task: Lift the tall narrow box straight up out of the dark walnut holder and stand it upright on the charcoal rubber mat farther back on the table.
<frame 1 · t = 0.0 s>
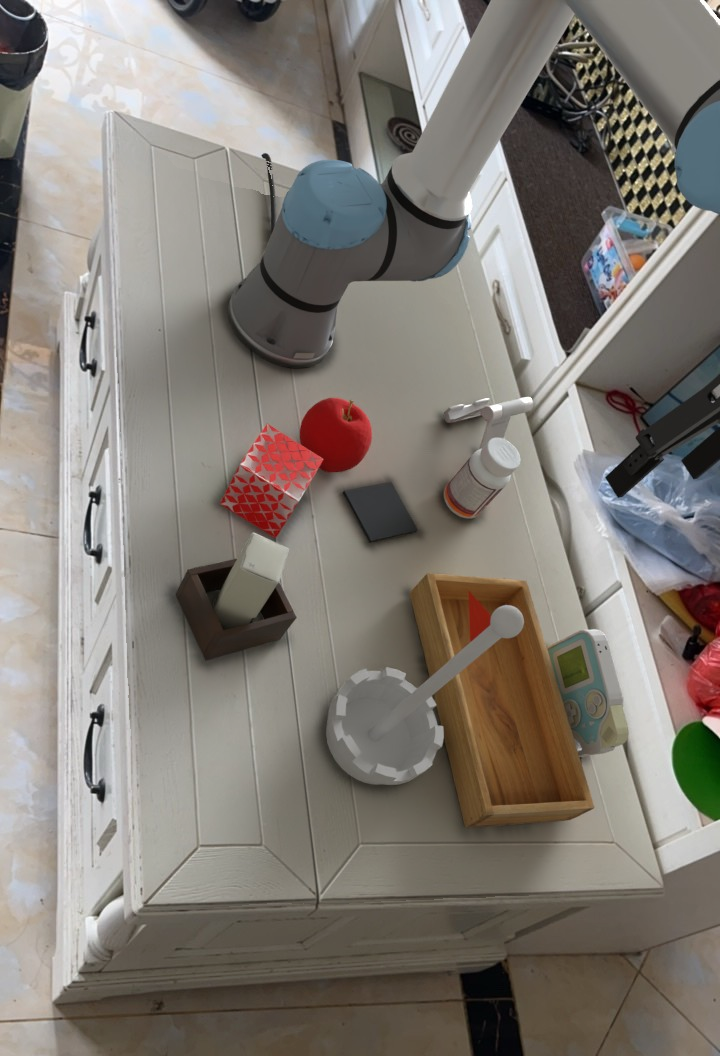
hand: (652, 478, 97), 28 cm above the table, tool pointing down, fingers open, 13 cm apart
tray: (483, 705, 109), on the table
mat: (380, 512, 117), on the table
fruit: (322, 456, 117), on the table
holder: (228, 617, 99), on the table
handheld gaming console: (558, 708, 114), on the table
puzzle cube: (260, 501, 109), on the table
box: (227, 618, 99), resting in holder
pill bottle: (460, 502, 124), on the table
tablet stand: (474, 432, 133), on the table
flag stand: (369, 738, 100), on the table
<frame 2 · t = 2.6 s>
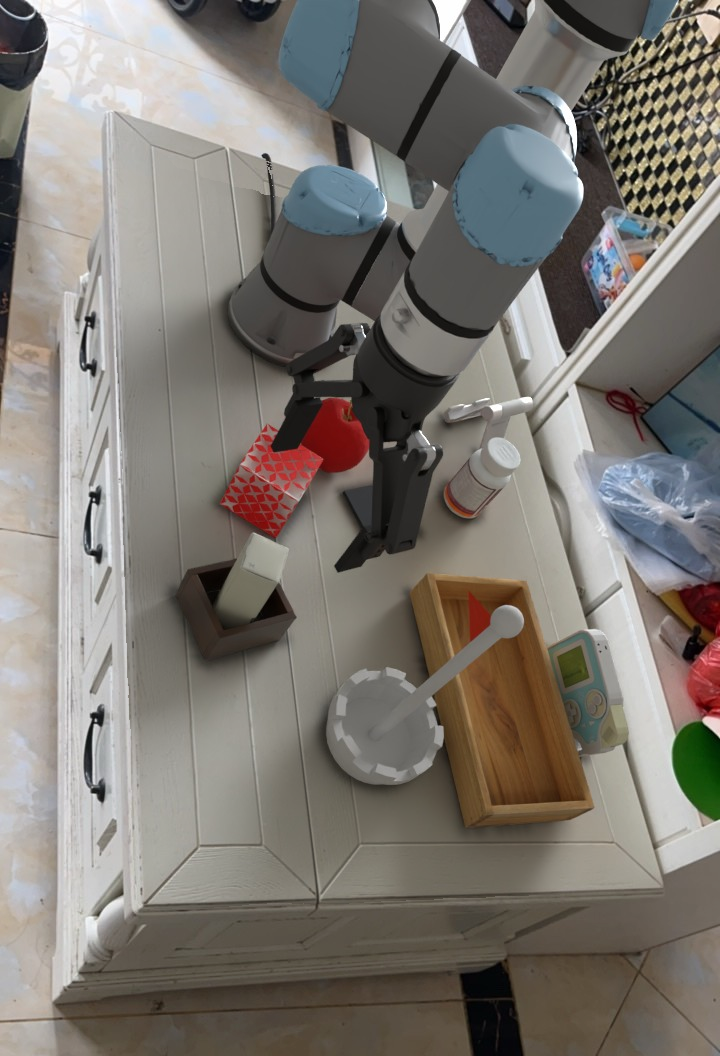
hand: (314, 506, 82), 22 cm above the table, tool pointing down, fingers open, 13 cm apart
nothing on the table moved.
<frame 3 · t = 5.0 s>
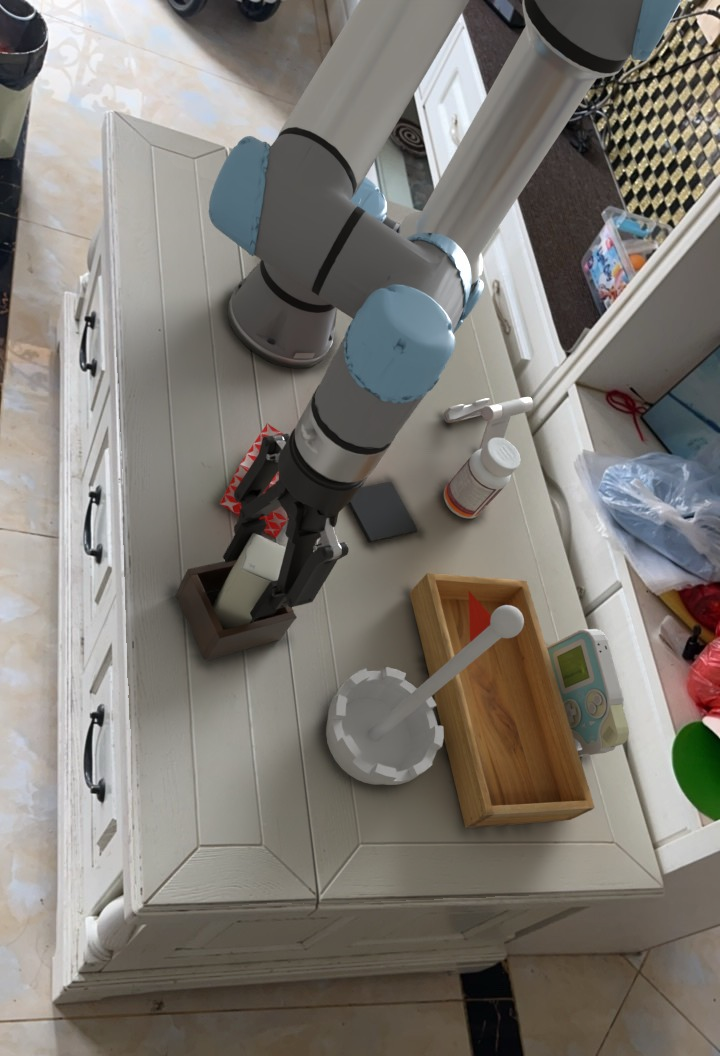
hand: (248, 584, 93), 7 cm above the table, tool pointing down, fingers closed on box, 6 cm apart
box: (227, 618, 99), resting in holder, touching gripper
everything else where it was.
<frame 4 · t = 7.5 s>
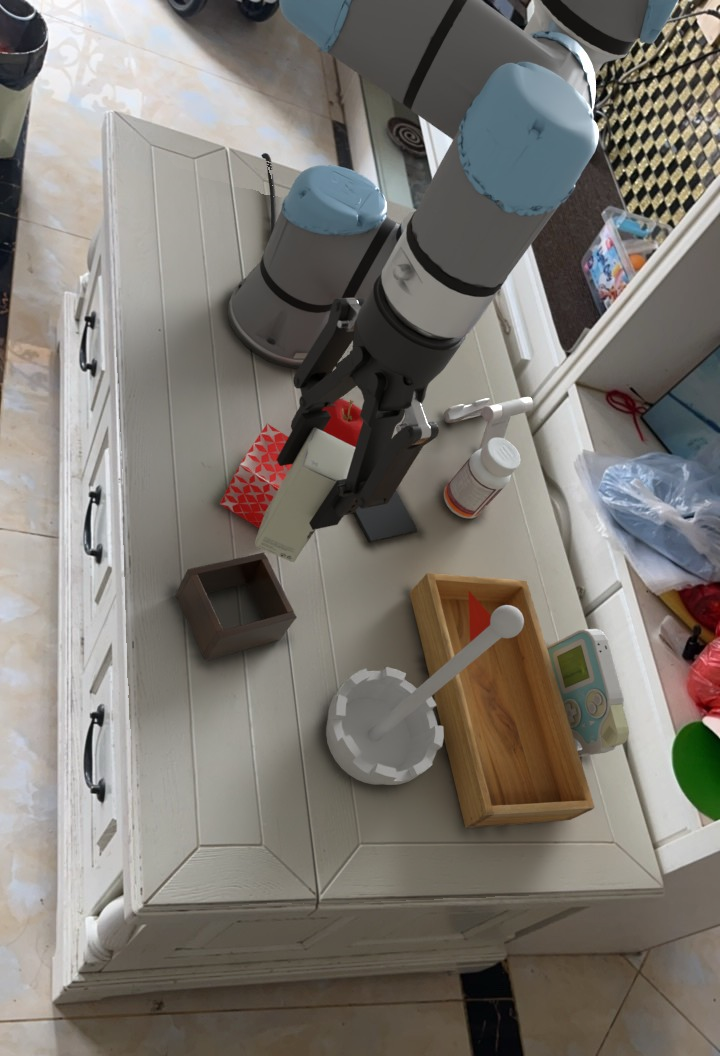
hand: (306, 491, 80), 24 cm above the table, tool pointing down, fingers closed on box, 6 cm apart
box: (278, 536, 86), point 17 cm above the table, touching gripper
everything else where it was.
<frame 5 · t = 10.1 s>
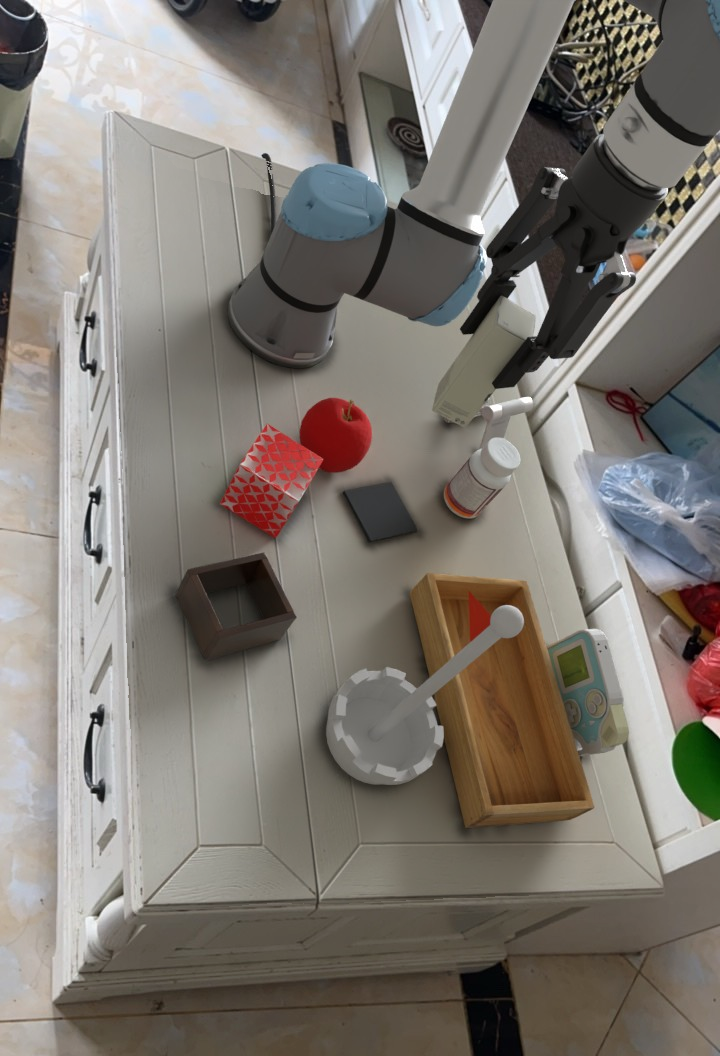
hand: (486, 357, 90), 31 cm above the table, tool pointing down, fingers closed on box, 6 cm apart
box: (450, 406, 96), point 23 cm above the table, touching gripper
everything else where it was.
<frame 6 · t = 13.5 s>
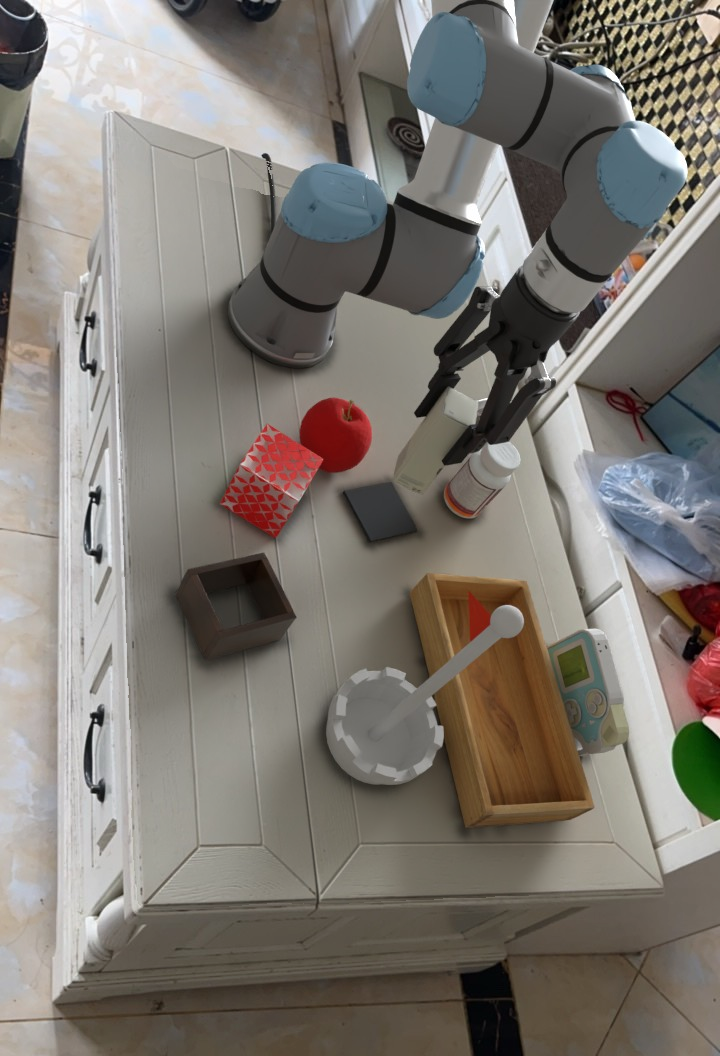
hand: (437, 437, 104), 16 cm above the table, tool pointing down, fingers closed on box, 6 cm apart
box: (408, 475, 110), point 8 cm above the table, touching gripper
everything else where it was.
when the fingers open (8 cm above the table, at t = 15.7 s): box stays where it is, resting on mat.
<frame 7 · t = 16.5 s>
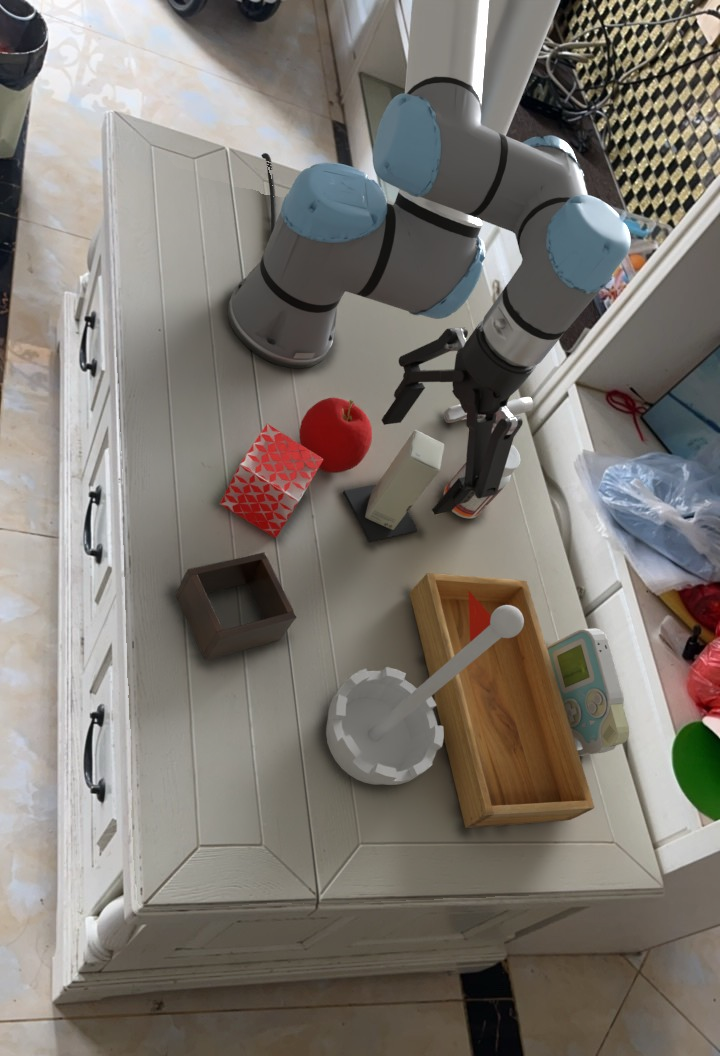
hand: (415, 465, 108), 10 cm above the table, tool pointing down, fingers open, 13 cm apart
box: (381, 511, 116), resting on mat
everything else where it was.
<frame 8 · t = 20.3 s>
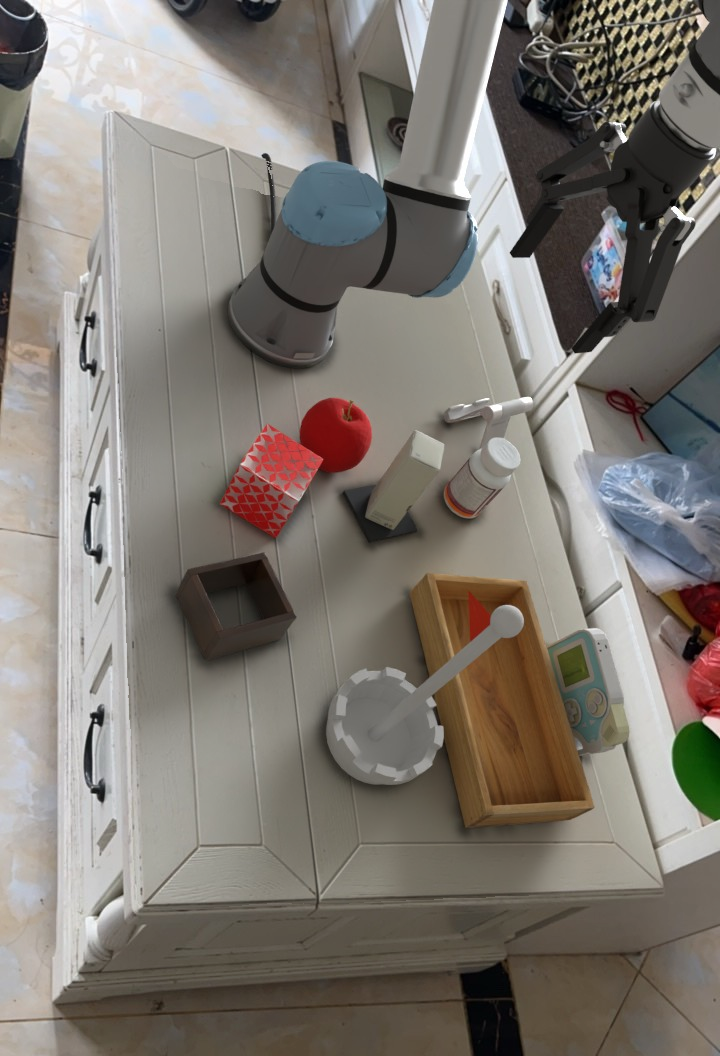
hand: (549, 302, 96), 33 cm above the table, tool pointing down, fingers open, 13 cm apart
nothing on the table moved.
at the end: box inside the target area on the mat (0.0 cm from its centre), point 0.3 cm above the mat's base; box tilted 0°; the gripper is holding nothing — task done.
